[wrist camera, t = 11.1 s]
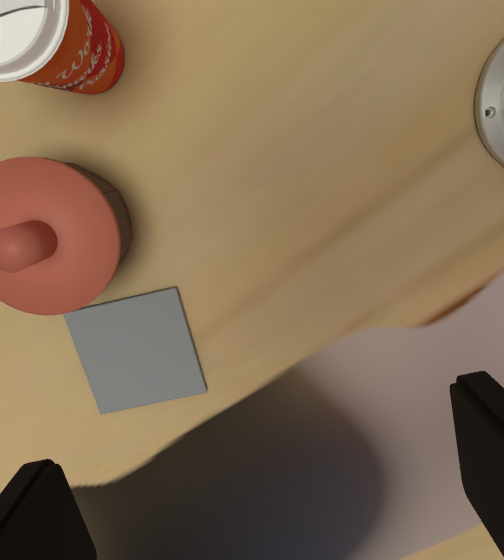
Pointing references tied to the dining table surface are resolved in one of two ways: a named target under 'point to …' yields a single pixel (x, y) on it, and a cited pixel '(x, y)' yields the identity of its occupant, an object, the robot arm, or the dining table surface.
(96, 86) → the coffee cup
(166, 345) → the mat
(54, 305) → the lid
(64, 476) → the robot arm
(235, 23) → the dining table surface
